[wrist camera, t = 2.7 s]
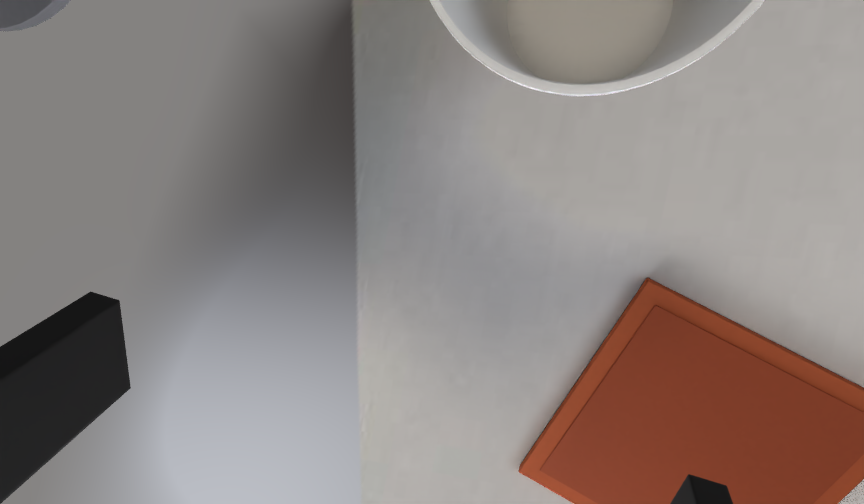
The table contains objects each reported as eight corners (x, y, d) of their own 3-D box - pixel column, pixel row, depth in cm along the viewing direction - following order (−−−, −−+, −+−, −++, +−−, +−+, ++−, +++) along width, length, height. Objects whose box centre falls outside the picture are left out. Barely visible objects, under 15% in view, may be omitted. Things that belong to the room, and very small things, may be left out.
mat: (519, 466, 33) (518, 473, 33) (646, 277, 28) (648, 280, 27) (736, 589, 32) (739, 600, 31) (917, 415, 26) (925, 423, 26)
